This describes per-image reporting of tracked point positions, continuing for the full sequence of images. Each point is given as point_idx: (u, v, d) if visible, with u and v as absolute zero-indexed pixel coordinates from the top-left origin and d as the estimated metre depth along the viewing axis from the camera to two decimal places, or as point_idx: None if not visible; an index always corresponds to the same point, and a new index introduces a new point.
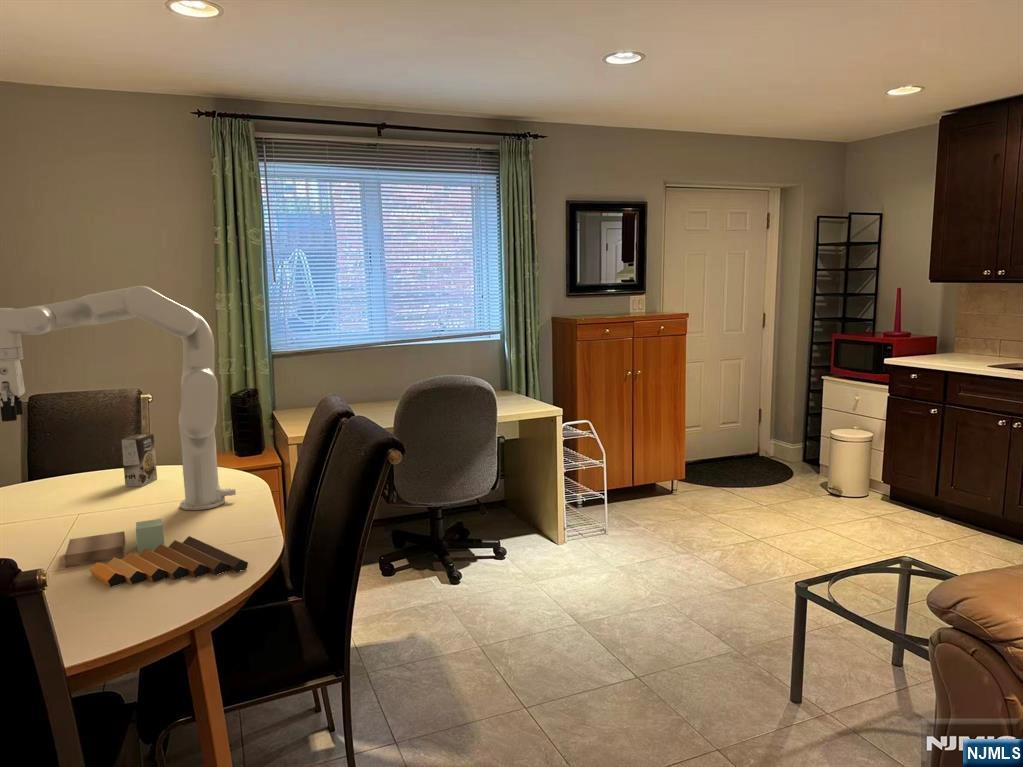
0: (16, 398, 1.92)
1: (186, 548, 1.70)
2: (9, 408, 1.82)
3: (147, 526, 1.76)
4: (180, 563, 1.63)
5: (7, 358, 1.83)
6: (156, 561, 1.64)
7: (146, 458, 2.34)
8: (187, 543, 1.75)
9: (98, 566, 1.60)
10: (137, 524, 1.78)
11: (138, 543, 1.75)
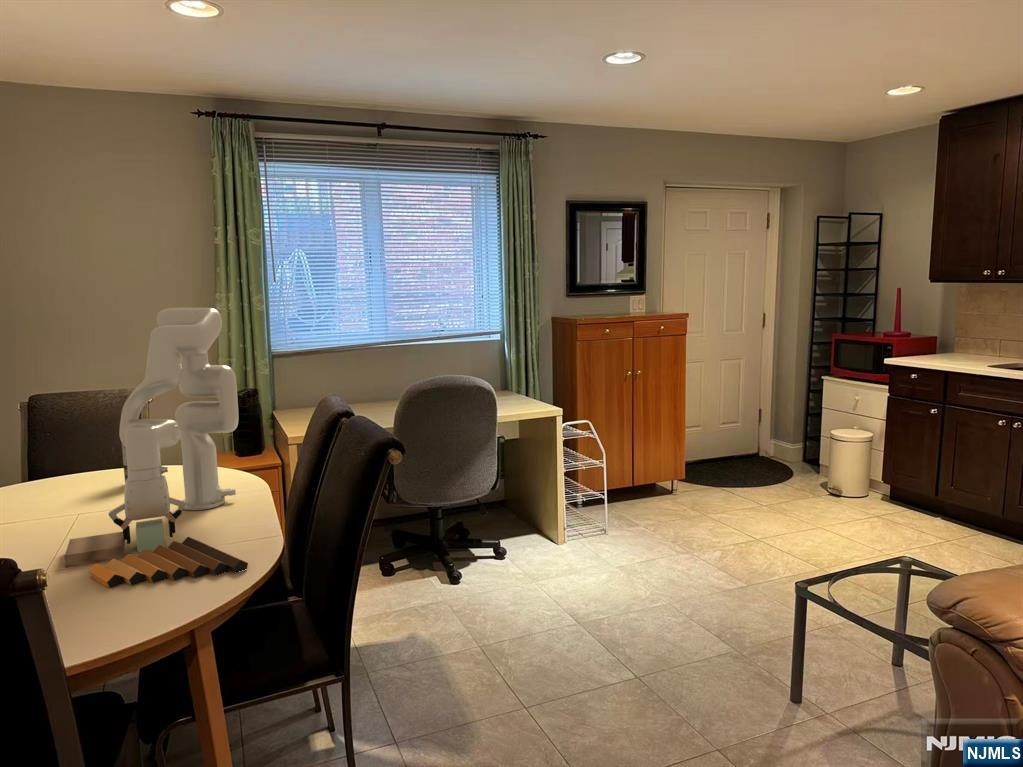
0: None
1: (185, 548, 1.70)
2: None
3: (147, 526, 1.76)
4: (180, 564, 1.62)
5: None
6: (156, 562, 1.63)
7: None
8: (186, 544, 1.75)
9: (97, 568, 1.59)
10: (137, 524, 1.78)
11: (138, 543, 1.75)
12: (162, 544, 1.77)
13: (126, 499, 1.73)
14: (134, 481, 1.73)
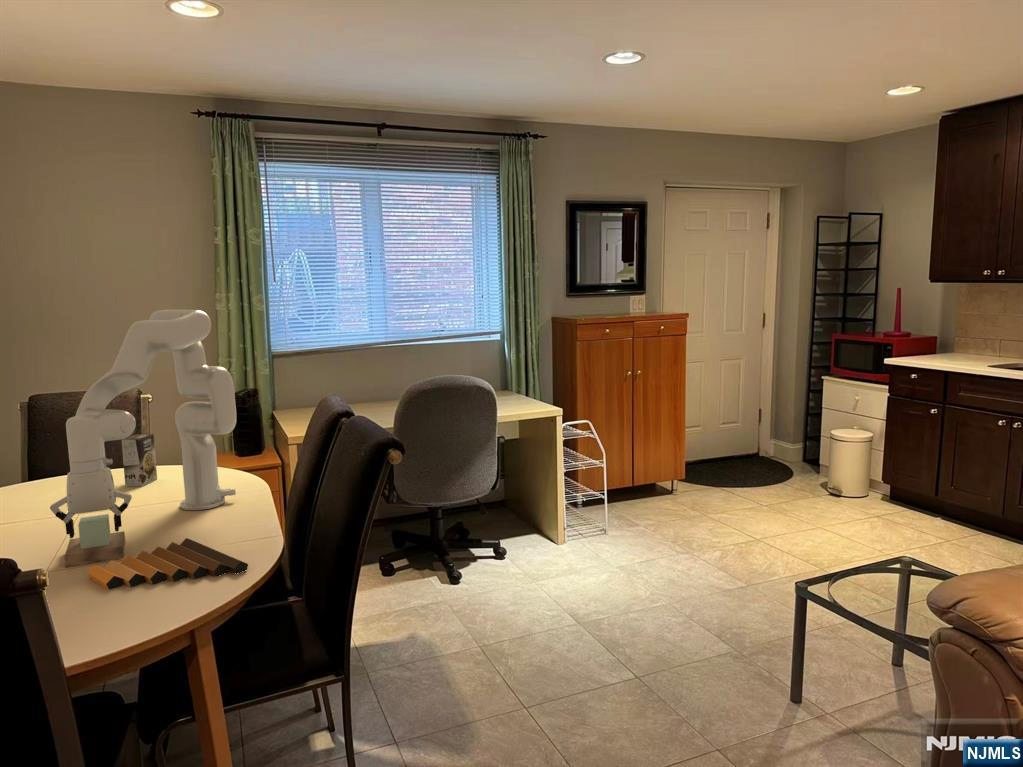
0: (70, 517, 1.70)
1: (184, 550, 1.69)
2: (120, 515, 1.75)
3: (91, 522, 1.70)
4: (179, 565, 1.62)
5: None
6: (155, 563, 1.62)
7: (146, 458, 2.34)
8: (185, 545, 1.74)
9: (95, 569, 1.58)
10: (81, 520, 1.72)
11: (81, 539, 1.69)
12: (107, 540, 1.71)
13: (68, 492, 1.67)
14: (76, 473, 1.67)
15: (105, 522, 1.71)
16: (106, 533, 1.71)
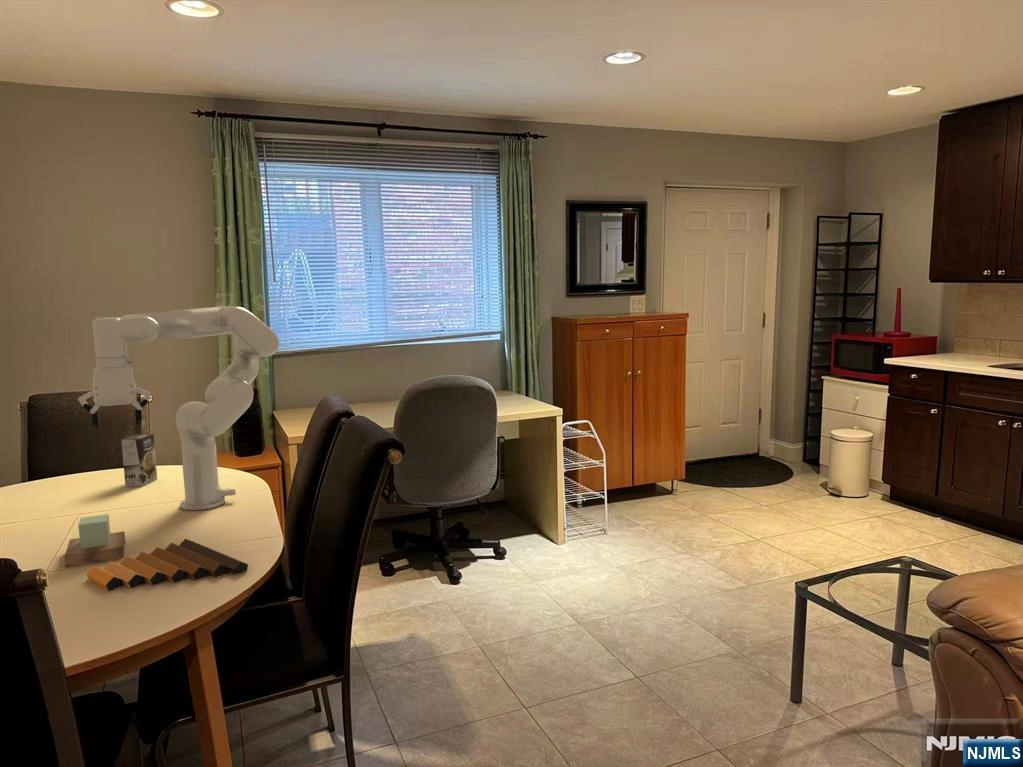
0: None
1: (183, 550, 1.69)
2: None
3: (91, 522, 1.70)
4: (179, 566, 1.61)
5: None
6: (154, 564, 1.62)
7: (146, 458, 2.34)
8: (184, 546, 1.74)
9: (95, 570, 1.58)
10: (81, 520, 1.72)
11: (81, 539, 1.69)
12: (107, 540, 1.71)
13: (94, 385, 1.85)
14: (102, 368, 1.85)
15: (105, 522, 1.71)
16: (106, 533, 1.71)
